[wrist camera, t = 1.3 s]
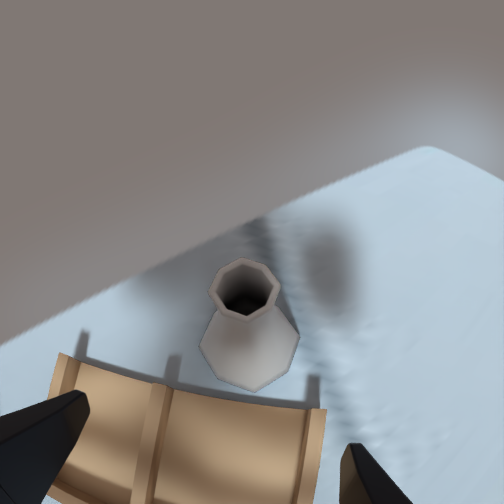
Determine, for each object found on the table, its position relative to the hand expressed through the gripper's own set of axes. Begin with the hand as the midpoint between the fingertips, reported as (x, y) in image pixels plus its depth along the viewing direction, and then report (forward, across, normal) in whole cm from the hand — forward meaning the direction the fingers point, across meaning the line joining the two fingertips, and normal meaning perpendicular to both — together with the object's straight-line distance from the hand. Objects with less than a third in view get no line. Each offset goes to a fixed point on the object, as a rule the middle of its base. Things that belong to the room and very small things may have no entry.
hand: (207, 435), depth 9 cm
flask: (+14, 0, +4) cm, 15 cm away
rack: (+6, +4, +12) cm, 14 cm away
